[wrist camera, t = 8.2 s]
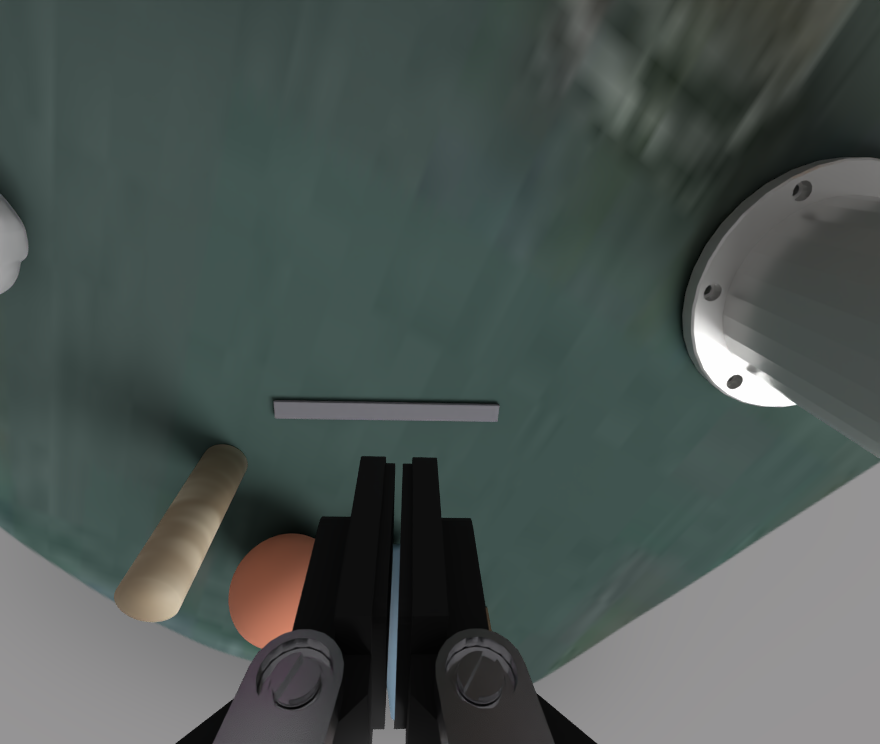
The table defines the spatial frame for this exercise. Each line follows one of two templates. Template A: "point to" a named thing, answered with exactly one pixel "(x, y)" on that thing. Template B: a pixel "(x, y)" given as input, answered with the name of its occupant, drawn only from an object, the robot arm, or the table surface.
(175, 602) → the birch pin
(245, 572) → the ball
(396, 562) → the pin
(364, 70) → the table surface
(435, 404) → the lane line
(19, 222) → the white figurine
